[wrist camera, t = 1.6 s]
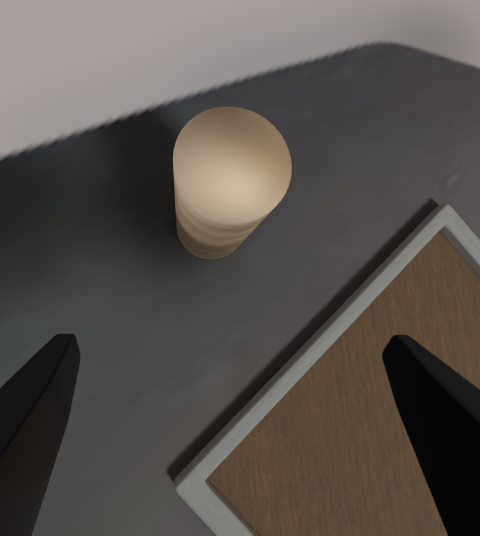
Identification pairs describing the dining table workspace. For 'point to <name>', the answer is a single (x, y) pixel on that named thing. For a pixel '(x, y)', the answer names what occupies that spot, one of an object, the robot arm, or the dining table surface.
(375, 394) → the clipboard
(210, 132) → the tan wooden cylinder
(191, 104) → the dining table surface
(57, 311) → the dining table surface
